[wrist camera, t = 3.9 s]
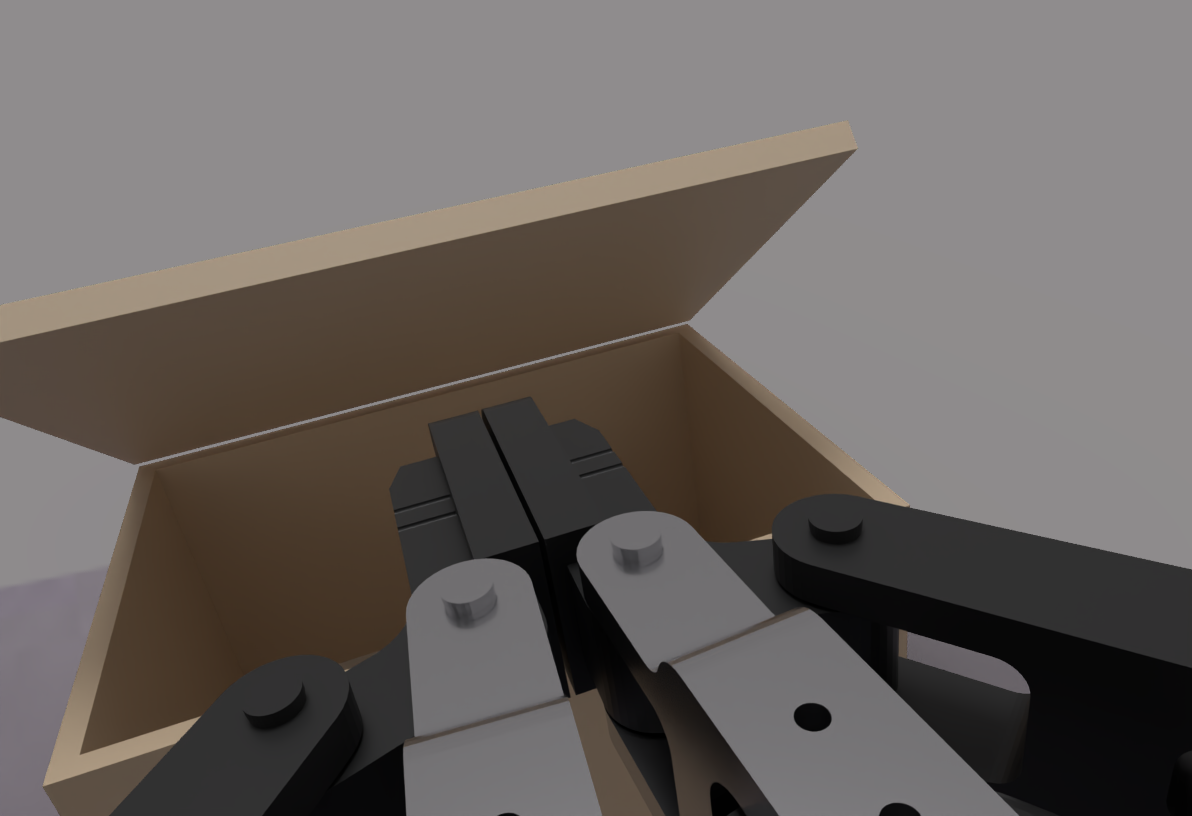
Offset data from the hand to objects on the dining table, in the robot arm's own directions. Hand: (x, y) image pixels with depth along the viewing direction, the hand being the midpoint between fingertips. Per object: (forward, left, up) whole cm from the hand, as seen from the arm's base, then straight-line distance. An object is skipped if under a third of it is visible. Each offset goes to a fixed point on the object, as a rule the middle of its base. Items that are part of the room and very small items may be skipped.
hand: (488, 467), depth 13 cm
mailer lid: (0, +9, -1) cm, 9 cm away
